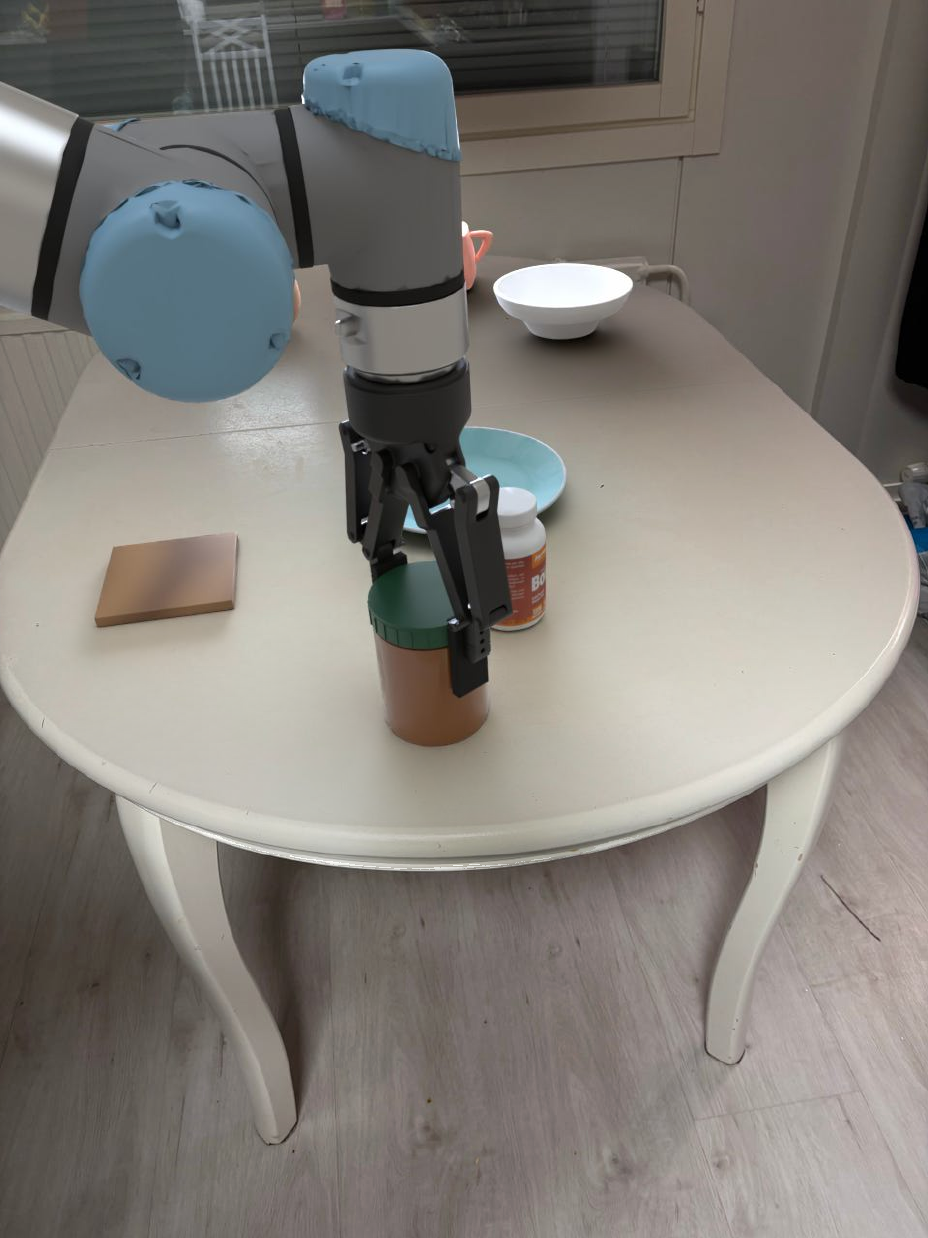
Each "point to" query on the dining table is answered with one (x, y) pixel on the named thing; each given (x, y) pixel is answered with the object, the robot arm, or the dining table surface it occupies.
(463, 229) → the teapot
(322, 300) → the dining table surface
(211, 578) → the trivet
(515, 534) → the pill bottle
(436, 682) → the jam jar
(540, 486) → the plate
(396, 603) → the jar lid
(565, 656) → the dining table surface
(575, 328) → the bowl
